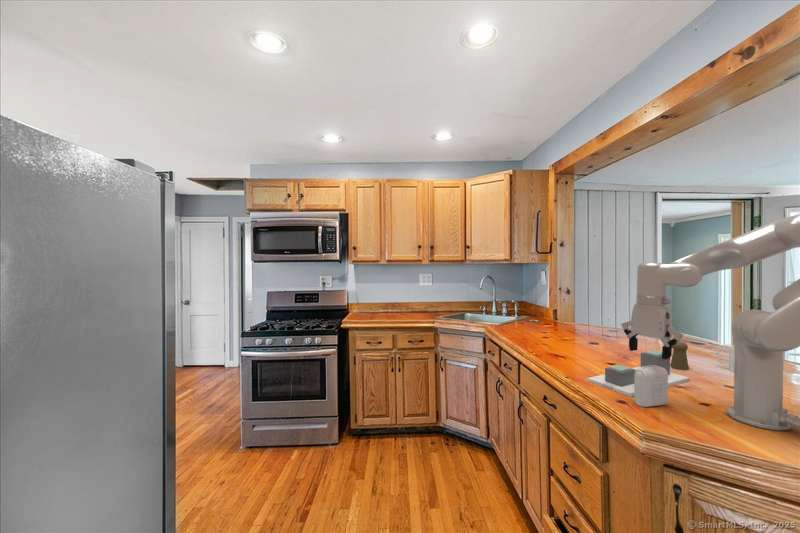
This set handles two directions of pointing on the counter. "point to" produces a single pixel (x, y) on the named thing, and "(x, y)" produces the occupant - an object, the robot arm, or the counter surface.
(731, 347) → the cup
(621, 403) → the counter surface
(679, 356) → the olive green bristly cone
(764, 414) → the robot arm
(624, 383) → the mounting board
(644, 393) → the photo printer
